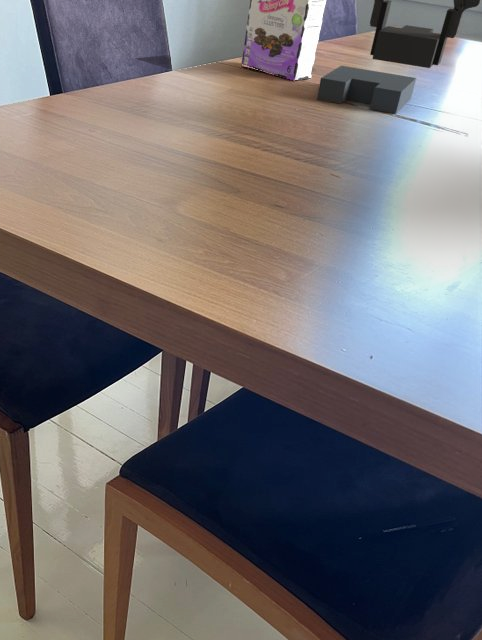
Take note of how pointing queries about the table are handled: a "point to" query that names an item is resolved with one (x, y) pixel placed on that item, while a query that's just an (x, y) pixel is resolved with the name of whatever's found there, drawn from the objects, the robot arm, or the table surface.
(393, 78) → the base pad
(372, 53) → the robot arm
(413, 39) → the pad
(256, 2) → the candy box
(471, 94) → the table surface
